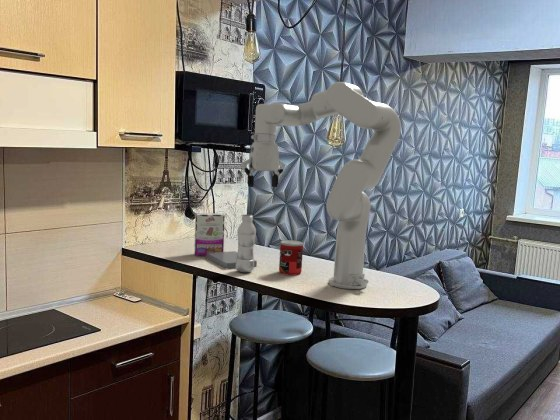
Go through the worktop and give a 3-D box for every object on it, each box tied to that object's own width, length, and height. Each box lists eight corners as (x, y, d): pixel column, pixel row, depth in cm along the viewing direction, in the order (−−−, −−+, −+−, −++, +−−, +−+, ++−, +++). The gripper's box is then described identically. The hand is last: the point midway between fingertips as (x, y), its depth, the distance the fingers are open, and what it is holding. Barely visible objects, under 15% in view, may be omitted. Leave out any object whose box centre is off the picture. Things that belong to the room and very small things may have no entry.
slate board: (256, 266, 199) (256, 261, 199) (226, 268, 193) (226, 263, 192) (234, 256, 214) (234, 251, 214) (206, 258, 208) (206, 252, 208)
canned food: (275, 270, 194) (277, 240, 193) (296, 269, 197) (298, 240, 196) (283, 275, 187) (284, 244, 186) (304, 275, 190) (306, 244, 189)
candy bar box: (221, 253, 217) (223, 213, 215) (223, 256, 213) (225, 214, 211) (193, 253, 215) (195, 212, 213) (194, 256, 210) (196, 214, 208)
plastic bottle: (231, 271, 190) (233, 214, 187) (246, 268, 194) (249, 213, 192) (242, 275, 185) (245, 217, 182) (257, 272, 189) (260, 216, 187)
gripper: (247, 138, 188) (245, 187, 190) (291, 140, 196) (288, 188, 198) (238, 137, 194) (236, 185, 196) (281, 140, 202) (278, 186, 204)
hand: (262, 186), depth 197 cm, fingers open, 9 cm apart
